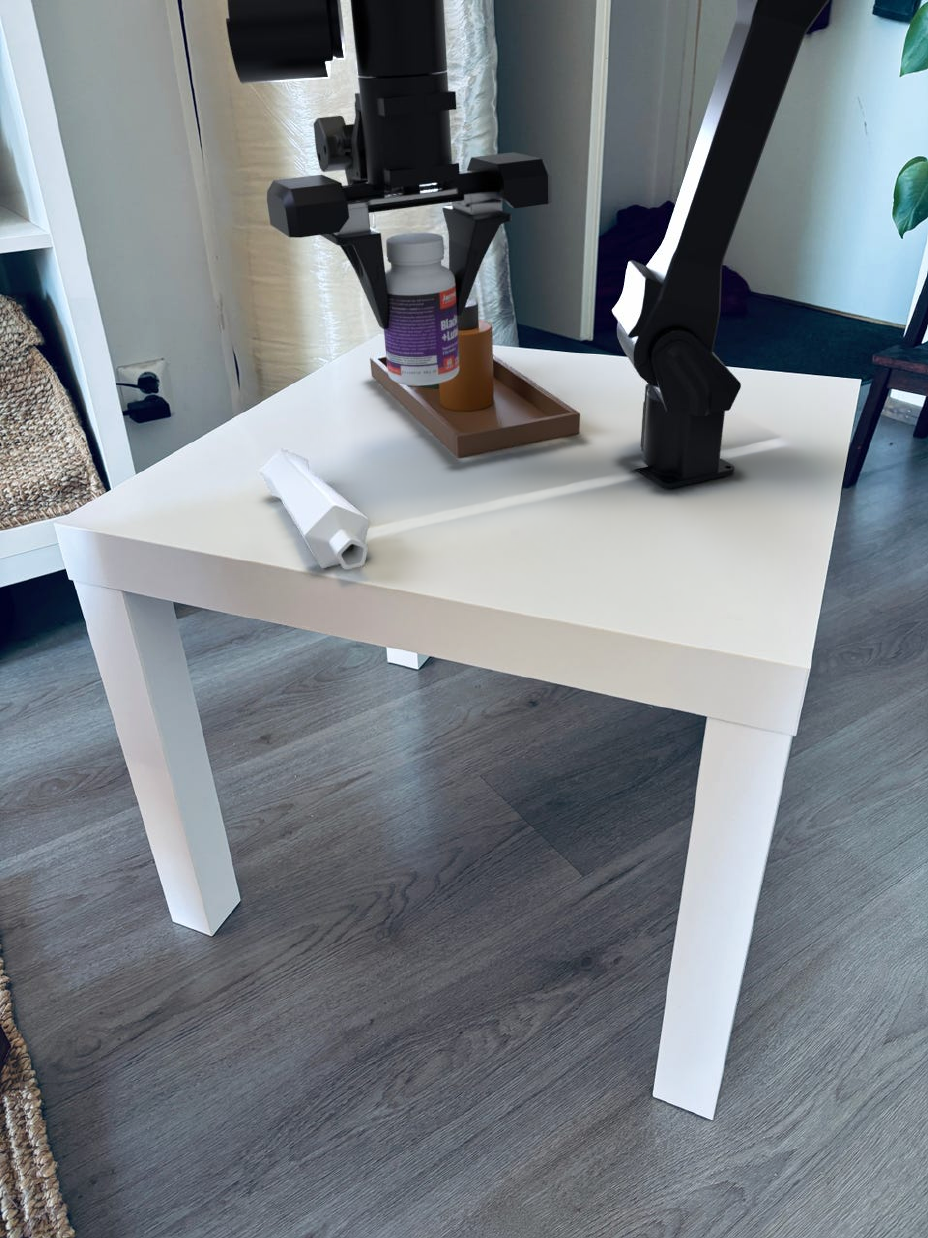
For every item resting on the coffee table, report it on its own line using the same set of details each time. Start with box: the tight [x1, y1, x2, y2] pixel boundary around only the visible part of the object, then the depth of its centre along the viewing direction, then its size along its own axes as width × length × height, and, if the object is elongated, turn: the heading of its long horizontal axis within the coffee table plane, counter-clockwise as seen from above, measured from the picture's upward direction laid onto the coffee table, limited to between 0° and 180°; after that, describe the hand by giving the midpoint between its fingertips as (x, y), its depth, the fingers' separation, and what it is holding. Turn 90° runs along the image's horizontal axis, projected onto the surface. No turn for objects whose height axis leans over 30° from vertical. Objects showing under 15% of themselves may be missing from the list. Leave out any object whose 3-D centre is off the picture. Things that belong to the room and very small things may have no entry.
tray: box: [369, 354, 581, 459], centre depth 89 cm, size 23×11×3 cm, turn 22°
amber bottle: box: [439, 299, 494, 411], centre depth 87 cm, size 5×5×9 cm
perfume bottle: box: [258, 447, 370, 571], centre depth 68 cm, size 5×4×15 cm
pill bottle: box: [383, 232, 459, 385], centre depth 69 cm, size 5×5×10 cm
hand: (421, 321), depth 70 cm, fingers closed on pill bottle, 5 cm apart
